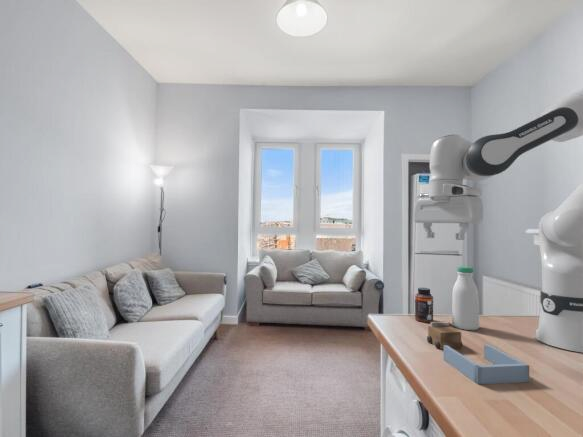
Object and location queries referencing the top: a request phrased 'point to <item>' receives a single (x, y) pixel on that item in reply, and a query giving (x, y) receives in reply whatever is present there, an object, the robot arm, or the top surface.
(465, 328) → the milk bottle
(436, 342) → the wooden toy wagon
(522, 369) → the bay
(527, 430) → the top surface
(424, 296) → the supplement bottle
